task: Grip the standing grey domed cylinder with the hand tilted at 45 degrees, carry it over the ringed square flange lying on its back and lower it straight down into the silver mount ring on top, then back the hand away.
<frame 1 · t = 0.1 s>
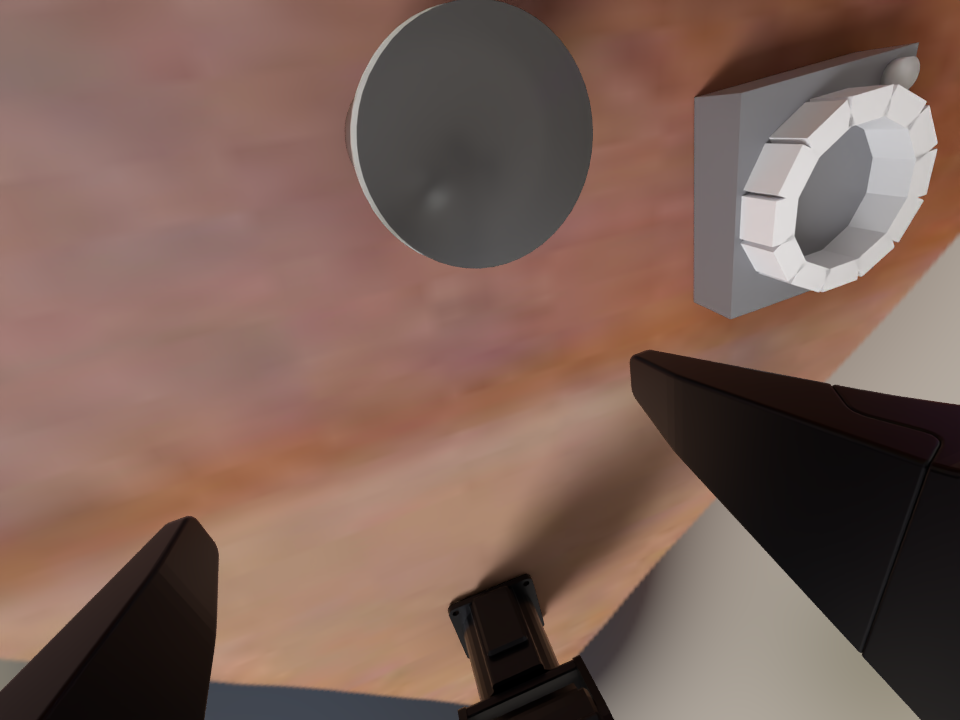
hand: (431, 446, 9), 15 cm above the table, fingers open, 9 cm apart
grey domed cylinder: (405, 140, 20), on the table
ringed square flange: (768, 186, 26), on the table
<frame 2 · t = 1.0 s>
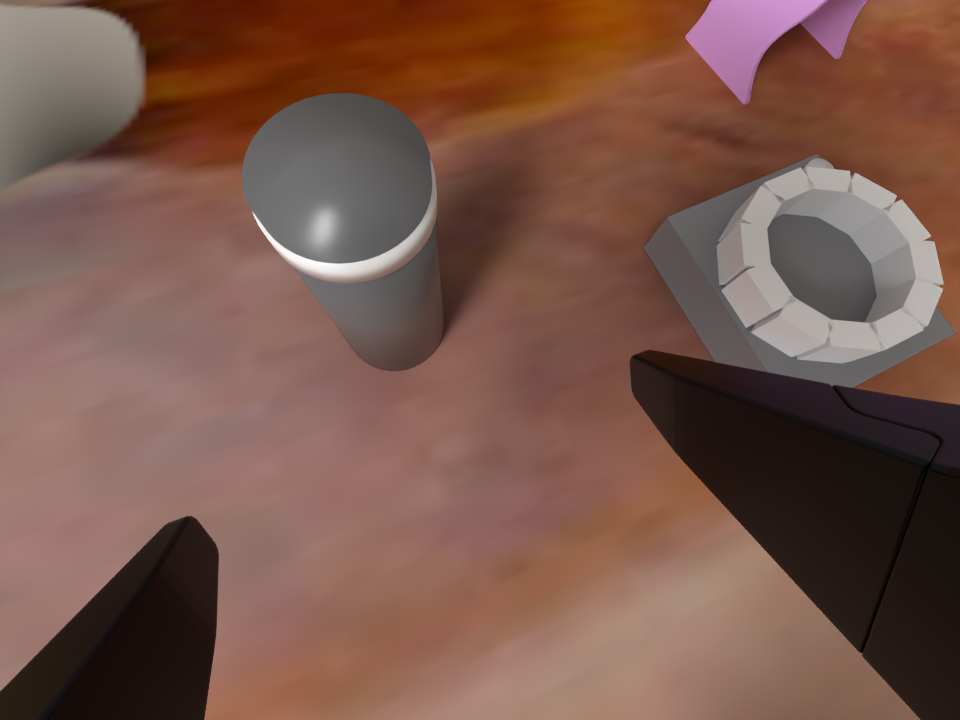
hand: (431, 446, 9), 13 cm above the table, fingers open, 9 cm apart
grey domed cylinder: (395, 324, 24), on the table
toy chair: (757, 52, 31), on the table
ringed square flange: (768, 298, 25), on the table
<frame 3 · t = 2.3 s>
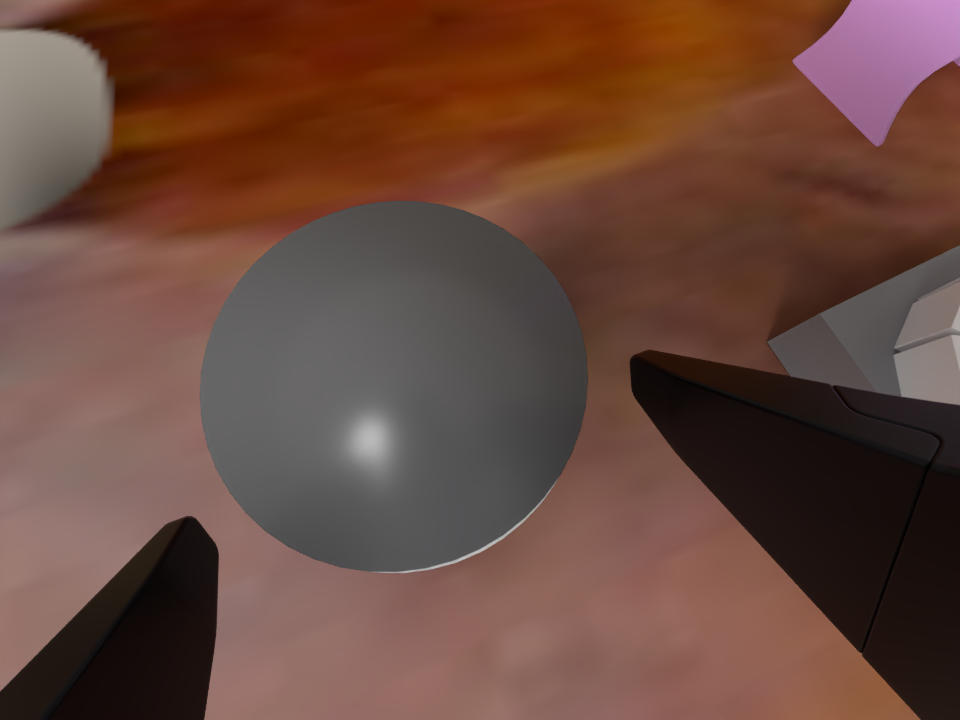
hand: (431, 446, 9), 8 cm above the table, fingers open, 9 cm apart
grey domed cylinder: (439, 456, 17), on the table
toy chair: (882, 79, 24), on the table
ringed square flange: (940, 412, 19), on the table
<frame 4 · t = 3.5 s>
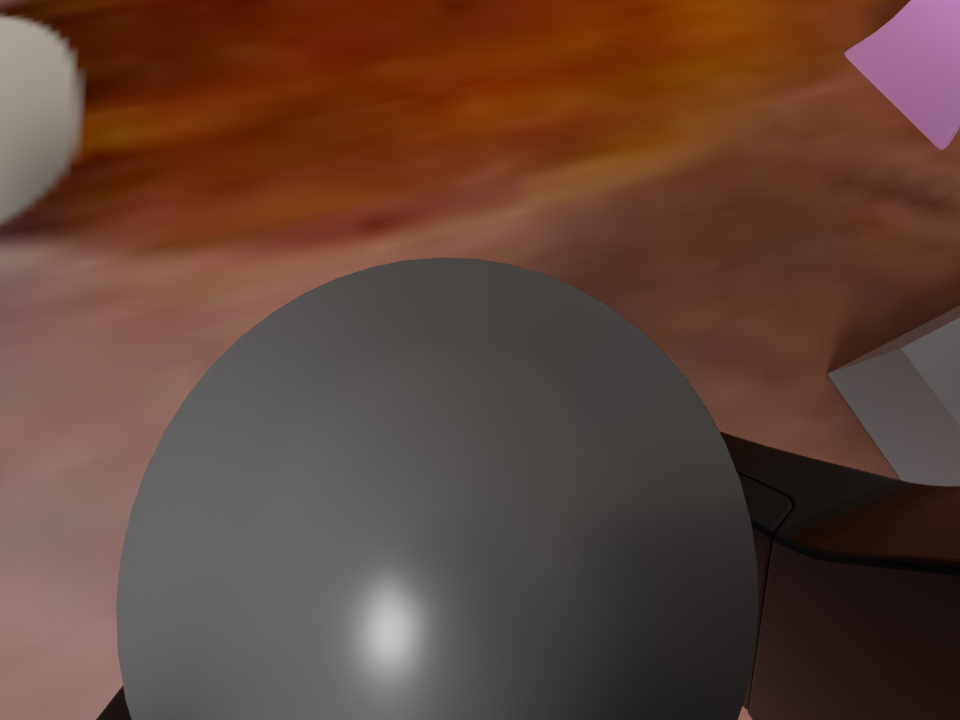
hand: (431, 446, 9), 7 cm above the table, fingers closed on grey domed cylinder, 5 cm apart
grey domed cylinder: (457, 509, 15), on the table, touching gripper
toy chair: (943, 74, 22), on the table
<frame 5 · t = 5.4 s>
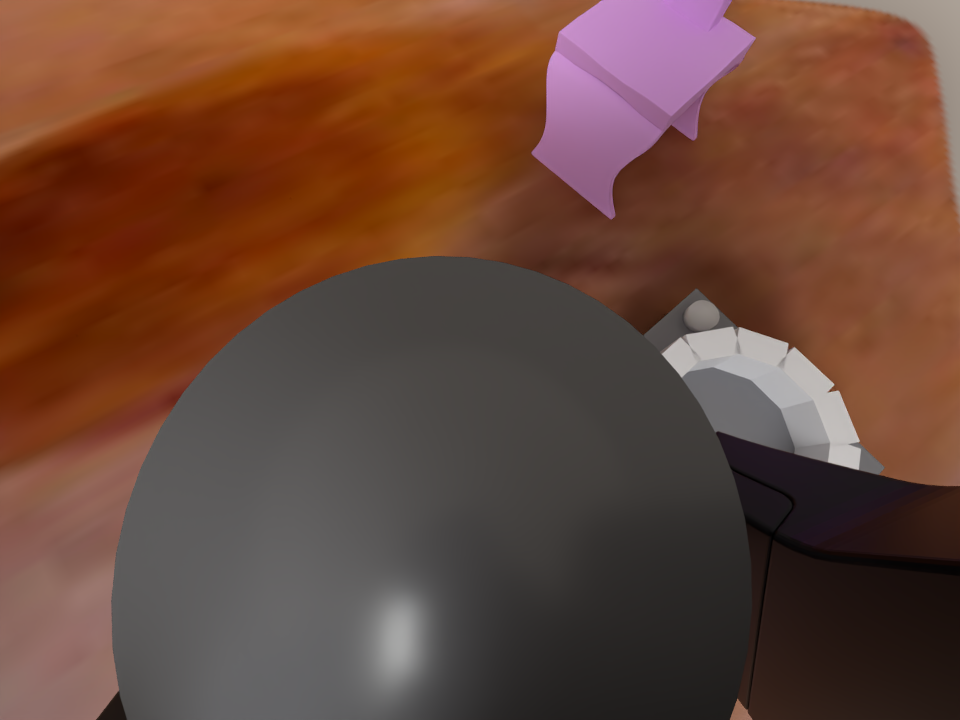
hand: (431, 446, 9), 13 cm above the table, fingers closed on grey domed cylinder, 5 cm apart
grey domed cylinder: (456, 508, 15), point 7 cm above the table, touching gripper
toy chair: (611, 150, 28), on the table
ringed square flange: (686, 448, 23), on the table
when the fingers open (10 cm above the table, at t = 7.3 s): grey domed cylinder stays where it is, resting on ringed square flange.
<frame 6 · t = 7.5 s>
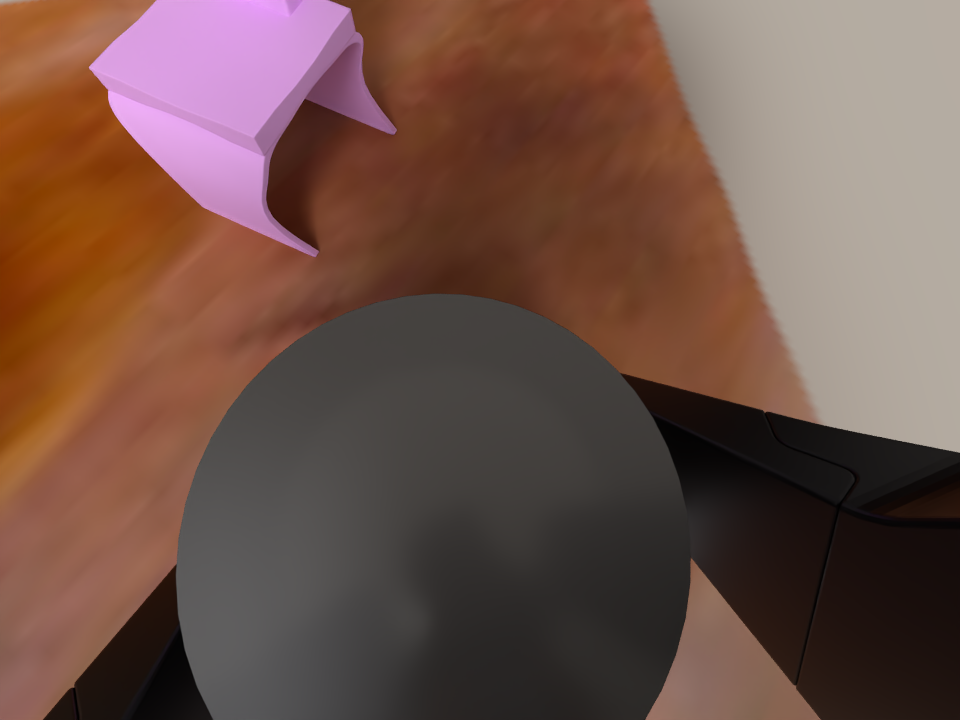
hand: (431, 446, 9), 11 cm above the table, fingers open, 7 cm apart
grey domed cylinder: (457, 510, 16), point 3 cm above the table, touching ringed square flange
toy chair: (302, 174, 24), on the table
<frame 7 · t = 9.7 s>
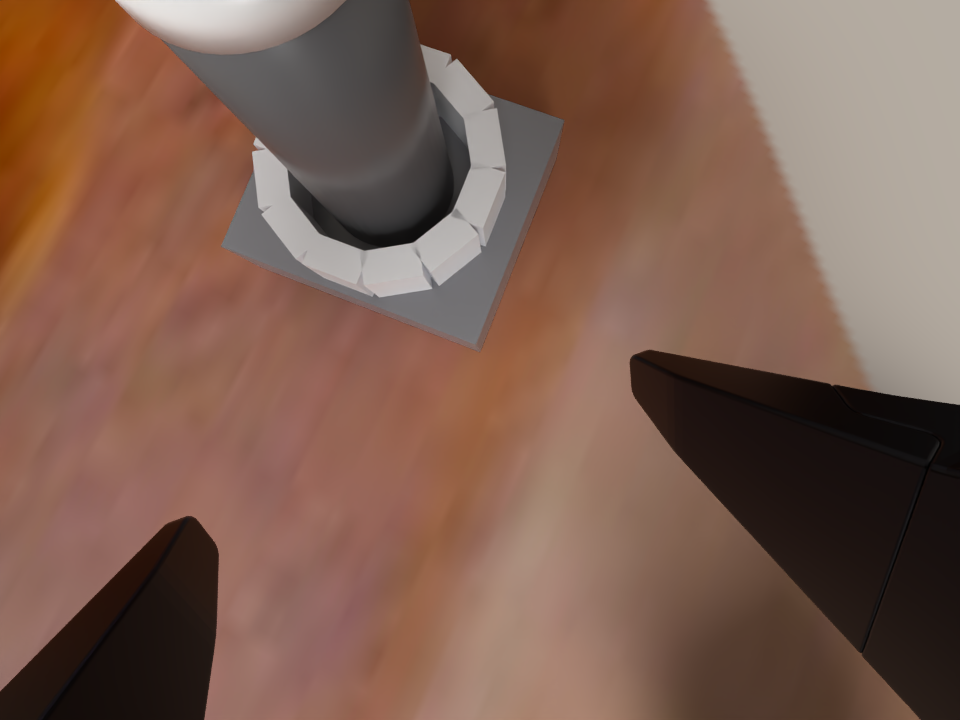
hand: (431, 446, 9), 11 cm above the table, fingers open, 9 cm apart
grey domed cylinder: (391, 185, 18), point 3 cm above the table, touching ringed square flange
ringed square flange: (407, 213, 21), on the table
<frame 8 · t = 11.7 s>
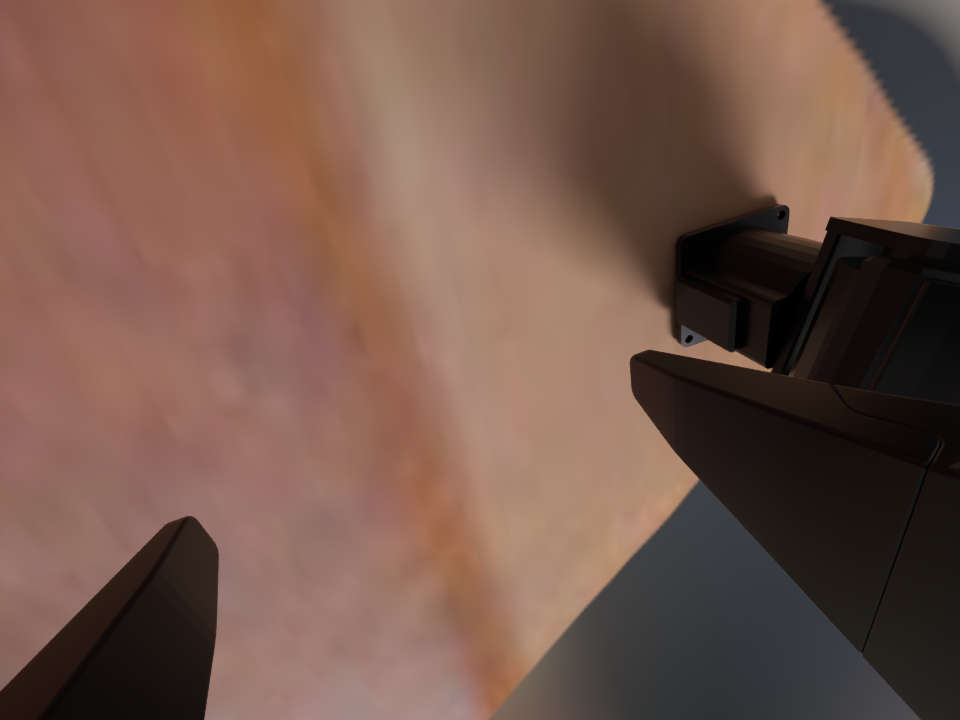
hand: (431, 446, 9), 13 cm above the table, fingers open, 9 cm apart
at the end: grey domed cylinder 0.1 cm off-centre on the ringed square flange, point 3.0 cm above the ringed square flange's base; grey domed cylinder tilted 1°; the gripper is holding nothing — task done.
